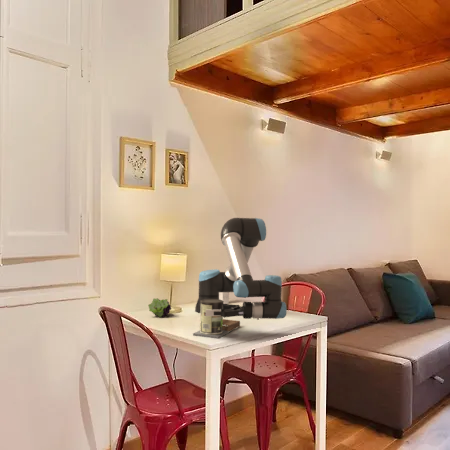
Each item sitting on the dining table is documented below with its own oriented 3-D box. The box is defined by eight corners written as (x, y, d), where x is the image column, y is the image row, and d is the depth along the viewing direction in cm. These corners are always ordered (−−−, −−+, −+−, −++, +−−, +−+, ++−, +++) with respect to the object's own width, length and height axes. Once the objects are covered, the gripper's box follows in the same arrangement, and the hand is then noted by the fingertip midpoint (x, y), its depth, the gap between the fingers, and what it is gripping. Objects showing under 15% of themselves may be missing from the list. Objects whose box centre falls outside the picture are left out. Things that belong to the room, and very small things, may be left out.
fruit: (172, 320, 244) (161, 318, 230) (155, 315, 248) (143, 313, 234) (177, 302, 246) (166, 299, 232) (160, 297, 250) (148, 294, 236)
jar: (219, 304, 280) (220, 285, 280) (212, 302, 286) (213, 283, 286) (231, 303, 285) (232, 284, 285) (224, 301, 291) (225, 282, 291)
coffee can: (223, 329, 207) (223, 299, 207) (222, 335, 197) (222, 303, 197) (200, 329, 207) (201, 298, 207) (198, 334, 197) (199, 302, 197)
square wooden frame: (199, 328, 212) (200, 323, 212) (213, 323, 225) (213, 318, 225) (227, 332, 206) (228, 326, 206) (239, 326, 219) (239, 321, 219)
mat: (193, 335, 199) (193, 333, 199) (205, 329, 210) (205, 328, 210) (217, 338, 194) (217, 336, 194) (228, 332, 205) (228, 331, 205)
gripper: (256, 324, 191) (206, 324, 189) (247, 313, 216) (203, 313, 214) (256, 306, 192) (206, 306, 189) (247, 297, 216) (203, 297, 214)
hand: (204, 310), depth 202 cm, fingers open, 13 cm apart
